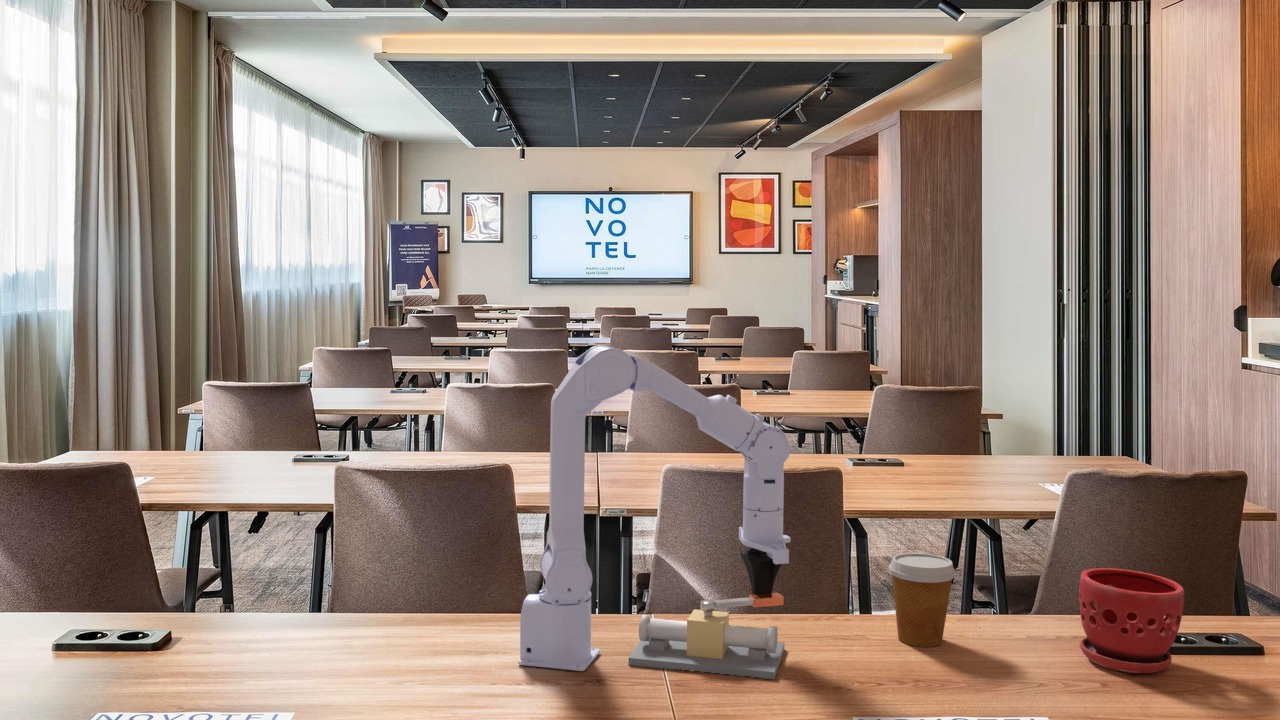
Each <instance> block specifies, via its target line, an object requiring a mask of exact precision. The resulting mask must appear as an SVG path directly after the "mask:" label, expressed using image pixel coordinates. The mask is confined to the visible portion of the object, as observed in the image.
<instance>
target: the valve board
mask: <svg viewBox="0 0 1280 720" xmlns="http://www.w3.org/2000/svg"><path fill="white" fill-rule="evenodd" d="M729 617H730V613H729V611H718V610H715V611H710V612H708V611H702V610H701V609H693V610H692V612H691V614H690V615H689V616H688V617H687V620H685V621H684V620H673V619H662V618H653V617H652V616H651V615H650V614H642V615H641V617H640V620H639V625H638V637H639V641H640V642H639V643H638V645H637V646H636V647H635V648H634V650H633V651H632V653H631V654H630V656H628V666H635V667H644V668H646V667H648V668H653V669H654V668H655V669H656V668H657V669H665V670H674V669H678V670H677V671H680V670H679V669H682V670H681V671H684V670H683V669H685V670H693V671H692V672H694V671H702V672H701V673H704V672H711V673H710V674H714V673H720V674H719V675H724V674H730V675H729V676H734V675H737V676H738V677H744V676H752V677H751V678H754V677H759V678H758V679H764V680H765V679H767V680H774V681H775V679H776V676H777V673H778V669H779V667H780V664H781V661H782V657H783V654H784V652H785V642H781V641H778V636H779V634H778V626H774V625H769V626H768V627H767V628H766V627H765V628H763V627H752V626H742V625H733V624H732V625H730V624H729V623H730V622H729V620H730V619H729ZM737 676H736V677H737Z"/></svg>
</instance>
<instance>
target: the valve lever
mask: <svg viewBox="0 0 1280 720" xmlns="http://www.w3.org/2000/svg"><path fill="white" fill-rule="evenodd" d="M784 600H785V597H784V596H783V595H782V594H781V593H779V592H772V593H767V594H755V595H753V594H749V597H738V598H737V597H736V598H727V599H726V598H725V599H715V600H714V599H703V600H700V603H699V604H700V605H699V606H700V607H699V608H700V609H699V610H702V611H708V612H710V611H717V609H721V608H735V607H746V606H753V608H764V607H774V606H775V607H776V606H784V604H785V603H784Z"/></svg>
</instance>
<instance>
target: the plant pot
mask: <svg viewBox="0 0 1280 720" xmlns="http://www.w3.org/2000/svg"><path fill="white" fill-rule="evenodd" d="M1078 588H1079V590H1078V601H1079V610H1080V619H1081V620H1080V621H1081V624H1082V625H1081V626H1082V628H1083V630H1084V631H1083V632H1084V634H1085V635H1086V637H1084V638H1082V639H1081V640H1080V642H1079V647H1080V650H1081V652H1082V654H1083V655H1084V656H1085V657H1086V658H1087V659H1089V660H1090V661H1091V662H1093V664H1095V665H1099V666H1101V667H1102V666H1103V667H1104V668H1107V669H1110V670H1115V671H1119V672H1122V673H1130V674H1151V673H1157V672H1160V671H1163V670H1165V669H1166V668H1168V667H1169V666H1170V665H1171V663H1172V661H1173V660H1172V659H1173V657H1172V654H1171V653H1170V651H1169V650H1170V648H1171V647H1172V646H1173V644H1174V642H1175V641H1176V637H1177V635H1178V633H1179V629H1180V626H1181V622H1182V618H1183V611H1184V604H1185V589H1184V587H1183V586H1182V585H1180V584H1179V583H1178V582H1177V581H1174V580H1172V579H1169V578H1167V577H1164V576H1160V575H1155V574H1152V573H1148V572H1143V571H1138V570H1137V571H1136V570H1131V569H1124V568H1123V569H1121V568H1114V567H1113V568H1111V567H1110V568H1109V567H1108V568H1105V567H1104V568H1102V567H1101V568H1090V569H1086V570H1084V571H1082V572H1081V575H1080V577H1079V585H1078ZM1094 603H1095V605H1096V606H1095V605H1094Z"/></svg>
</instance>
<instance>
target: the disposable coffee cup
mask: <svg viewBox="0 0 1280 720" xmlns="http://www.w3.org/2000/svg"><path fill="white" fill-rule="evenodd" d="M888 569H889V571H890V574H891V578H892V580H891V581H892V589H893V599H894V606H895V607H894V608H895V610H894V611H895V619H896V628H897V636H898V637H897V638H898V640H899V641H900V642H902V643H903V644H906V645H910V646H914V647H920V648H925V647H926V648H931V647H932V648H933V647H936V646H941V644H943V638H944V631H945V625H946V619H947V613H948V607H949V600H950V599H949V598H950V594H951V588H952V587H951V586H952V581H953V579H954V576H955V575H956V569H955V568H954V564H953V561H952V560H951V559H950V558H948V557H944V556H942V555H941V556H940V555H938V554H937V555H936V554H931V553H923V552H921V553H920V552H904V553H897V554H896V555H893V556H892V559H891V562H890V564H889V565H888Z"/></svg>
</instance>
